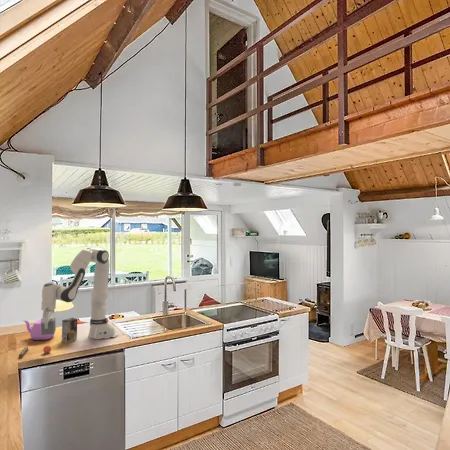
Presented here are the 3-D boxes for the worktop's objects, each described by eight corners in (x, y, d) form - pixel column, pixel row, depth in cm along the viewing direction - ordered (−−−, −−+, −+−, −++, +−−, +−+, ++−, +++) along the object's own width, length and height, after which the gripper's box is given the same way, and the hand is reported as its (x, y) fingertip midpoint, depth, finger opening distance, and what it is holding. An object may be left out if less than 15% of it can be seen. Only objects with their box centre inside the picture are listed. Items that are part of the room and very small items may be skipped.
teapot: (57, 332, 284) (58, 314, 284) (51, 340, 263) (52, 321, 263) (27, 333, 278) (27, 314, 278) (18, 342, 258) (19, 321, 258)
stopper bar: (28, 350, 242) (28, 346, 242) (22, 357, 228) (22, 354, 228) (24, 350, 241) (25, 347, 241) (19, 358, 228) (19, 354, 228)
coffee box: (71, 338, 271) (72, 317, 272) (77, 339, 268) (77, 318, 268) (61, 341, 263) (62, 319, 264) (66, 342, 260) (67, 321, 260)
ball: (43, 345, 240) (45, 352, 241) (41, 348, 236) (43, 355, 236) (50, 343, 242) (52, 350, 242) (49, 345, 237) (51, 352, 237)
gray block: (55, 330, 244) (55, 318, 244) (53, 333, 237) (53, 321, 237) (43, 331, 242) (43, 319, 242) (41, 334, 234) (41, 322, 234)
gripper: (50, 309, 230) (49, 330, 230) (56, 303, 250) (55, 322, 249) (40, 310, 228) (39, 331, 228) (46, 303, 248) (45, 322, 248)
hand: (47, 326), depth 239 cm, fingers closed on gray block, 7 cm apart
